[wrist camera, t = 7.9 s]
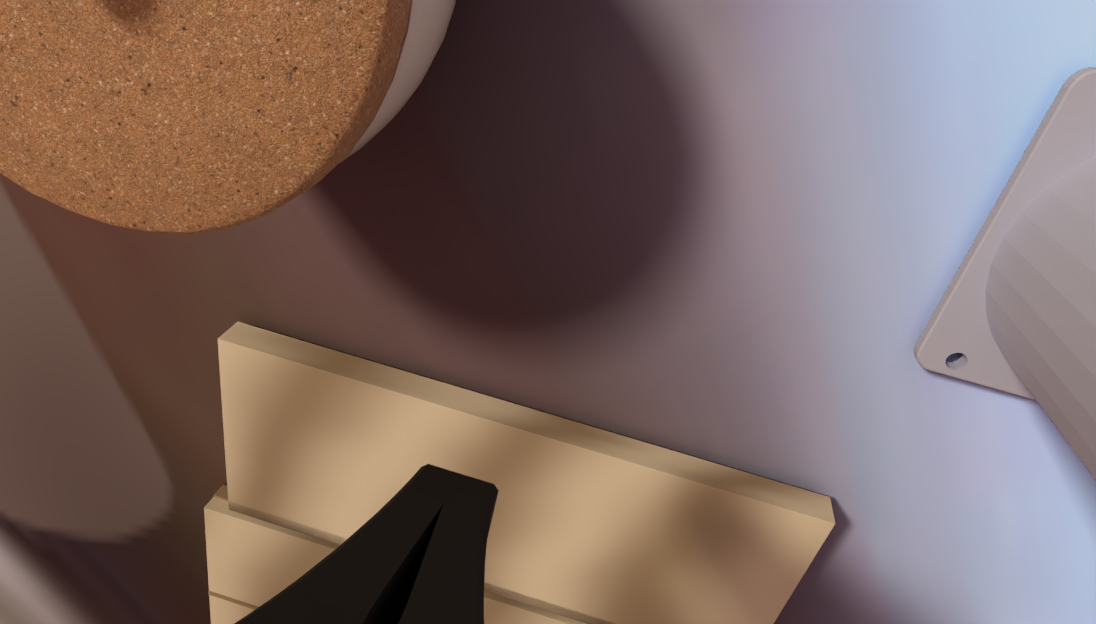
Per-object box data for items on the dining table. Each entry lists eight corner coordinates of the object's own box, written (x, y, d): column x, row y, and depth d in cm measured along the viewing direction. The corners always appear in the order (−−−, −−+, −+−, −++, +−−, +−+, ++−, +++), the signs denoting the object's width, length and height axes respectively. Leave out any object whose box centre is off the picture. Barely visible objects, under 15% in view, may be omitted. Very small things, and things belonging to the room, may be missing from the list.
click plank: (830, 497, 22) (835, 523, 21) (741, 645, 26) (742, 673, 25) (237, 321, 23) (217, 338, 22) (245, 489, 27) (228, 510, 26)
